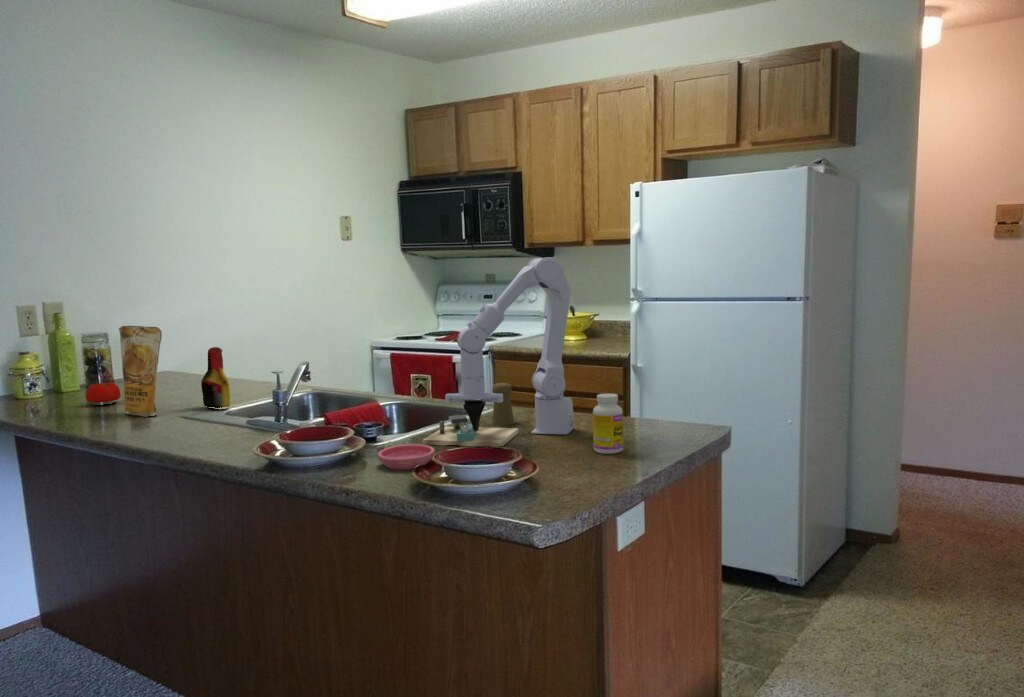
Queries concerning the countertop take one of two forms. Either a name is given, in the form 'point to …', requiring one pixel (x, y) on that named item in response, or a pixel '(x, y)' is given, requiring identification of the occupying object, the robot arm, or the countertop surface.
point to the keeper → (453, 422)
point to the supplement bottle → (608, 425)
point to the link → (466, 434)
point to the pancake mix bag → (140, 366)
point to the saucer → (406, 456)
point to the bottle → (215, 381)
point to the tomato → (102, 392)
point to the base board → (480, 437)
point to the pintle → (465, 429)
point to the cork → (502, 406)
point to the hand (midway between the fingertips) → (475, 430)
